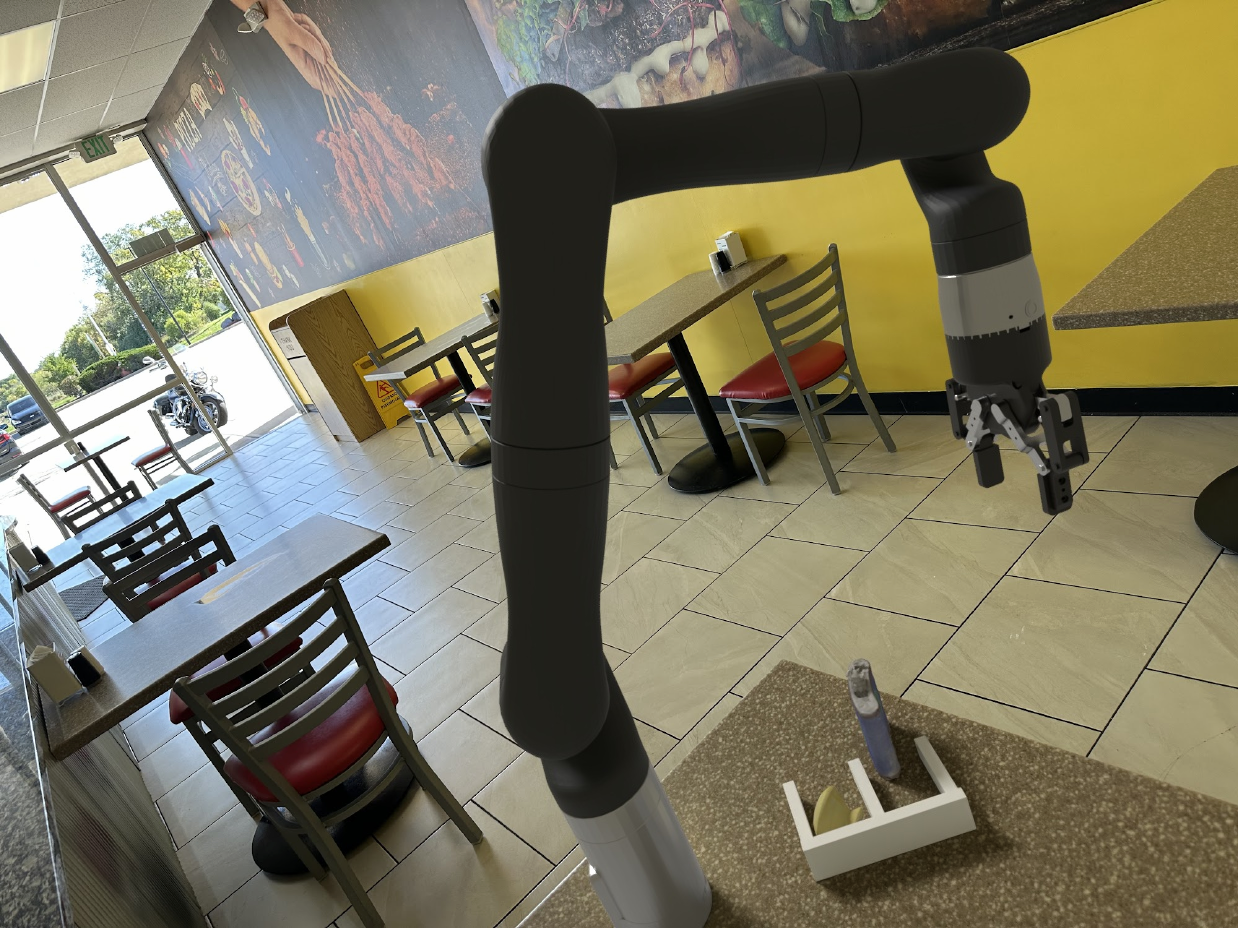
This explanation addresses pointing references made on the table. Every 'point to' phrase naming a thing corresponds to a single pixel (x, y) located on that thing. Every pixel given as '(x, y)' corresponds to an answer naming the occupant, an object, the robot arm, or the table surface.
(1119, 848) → the table surface
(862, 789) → the rack
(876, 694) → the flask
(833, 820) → the knob
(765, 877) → the table surface
